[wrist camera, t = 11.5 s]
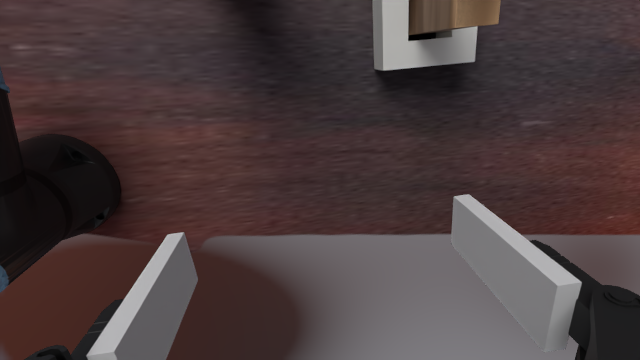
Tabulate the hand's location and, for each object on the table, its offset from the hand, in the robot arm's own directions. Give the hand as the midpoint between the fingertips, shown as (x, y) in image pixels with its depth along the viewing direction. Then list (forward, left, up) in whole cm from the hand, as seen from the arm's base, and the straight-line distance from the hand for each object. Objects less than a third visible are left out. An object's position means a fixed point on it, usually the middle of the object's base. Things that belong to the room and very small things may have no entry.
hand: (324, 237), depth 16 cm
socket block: (+17, +11, -34) cm, 40 cm away
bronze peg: (+17, +11, -34) cm, 40 cm away
